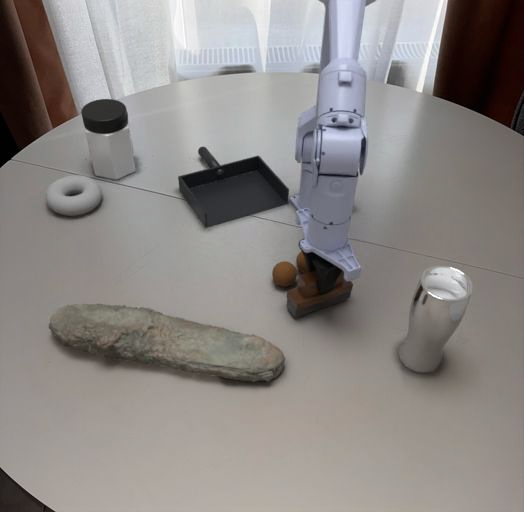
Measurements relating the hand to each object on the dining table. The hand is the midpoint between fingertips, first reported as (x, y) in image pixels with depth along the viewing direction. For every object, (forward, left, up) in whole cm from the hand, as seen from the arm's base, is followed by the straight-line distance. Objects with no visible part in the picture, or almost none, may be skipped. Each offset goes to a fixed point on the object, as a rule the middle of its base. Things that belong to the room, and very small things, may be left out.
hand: (320, 285), depth 88 cm
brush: (0, 0, -4) cm, 4 cm away
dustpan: (0, -36, -4) cm, 36 cm away
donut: (+27, -42, -4) cm, 50 cm away
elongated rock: (+25, -2, -4) cm, 25 cm away
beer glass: (-8, +16, -4) cm, 18 cm away
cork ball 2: (-2, -8, -2) cm, 8 cm away
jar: (+17, -50, -4) cm, 53 cm away
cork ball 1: (+3, -7, -2) cm, 7 cm away
